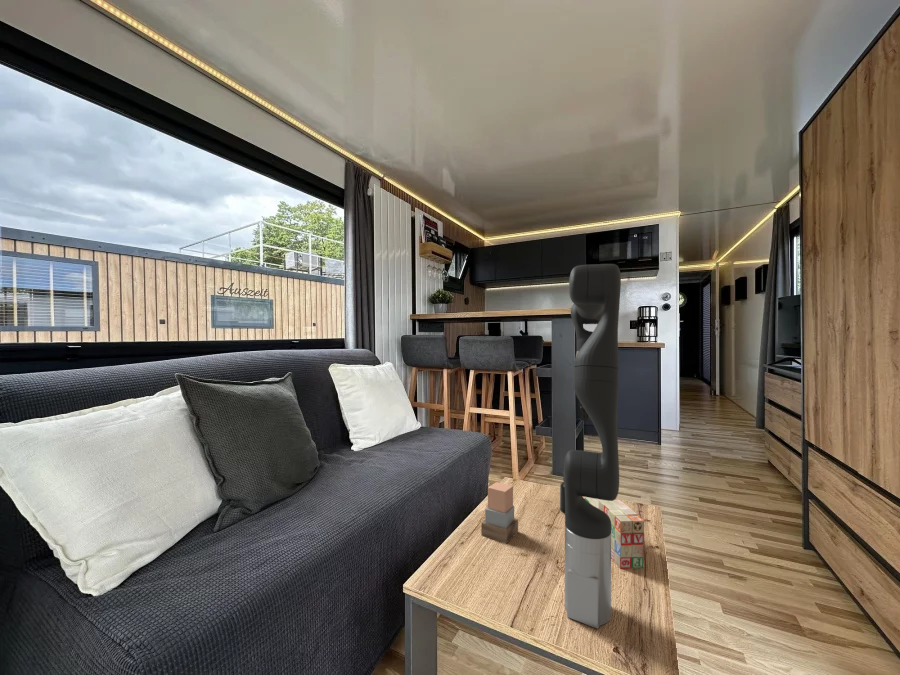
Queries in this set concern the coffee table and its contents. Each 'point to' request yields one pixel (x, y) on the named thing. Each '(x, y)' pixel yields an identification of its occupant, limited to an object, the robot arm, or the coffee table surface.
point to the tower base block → (499, 531)
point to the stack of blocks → (623, 533)
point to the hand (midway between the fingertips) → (588, 418)
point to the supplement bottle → (562, 497)
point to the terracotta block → (500, 497)
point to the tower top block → (499, 517)
